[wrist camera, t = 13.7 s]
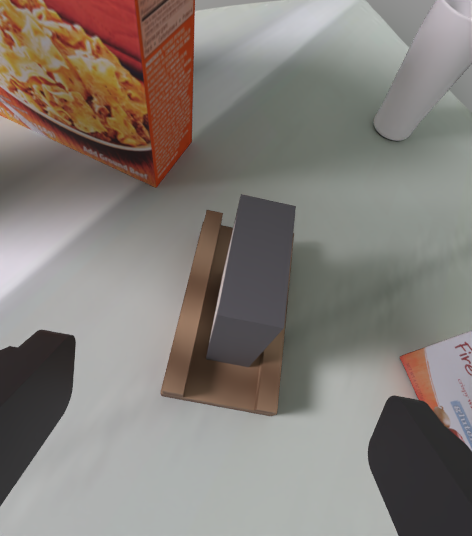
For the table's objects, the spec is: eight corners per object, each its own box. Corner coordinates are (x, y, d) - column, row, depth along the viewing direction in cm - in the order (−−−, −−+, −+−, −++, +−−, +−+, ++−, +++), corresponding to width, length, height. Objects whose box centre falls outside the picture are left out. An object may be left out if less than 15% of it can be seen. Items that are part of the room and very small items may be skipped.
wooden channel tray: (270, 416, 28) (283, 413, 24) (161, 396, 27) (158, 390, 24) (287, 250, 35) (298, 229, 31) (202, 232, 35) (204, 209, 31)
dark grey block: (248, 367, 27) (284, 328, 17) (205, 359, 27) (217, 314, 17) (260, 279, 31) (295, 206, 21) (223, 271, 31) (240, 194, 21)
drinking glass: (397, 154, 44) (489, 32, 31) (357, 124, 46) (427, -5, 32) (422, 132, 47) (517, 11, 33) (384, 105, 48) (459, -22, 35)
